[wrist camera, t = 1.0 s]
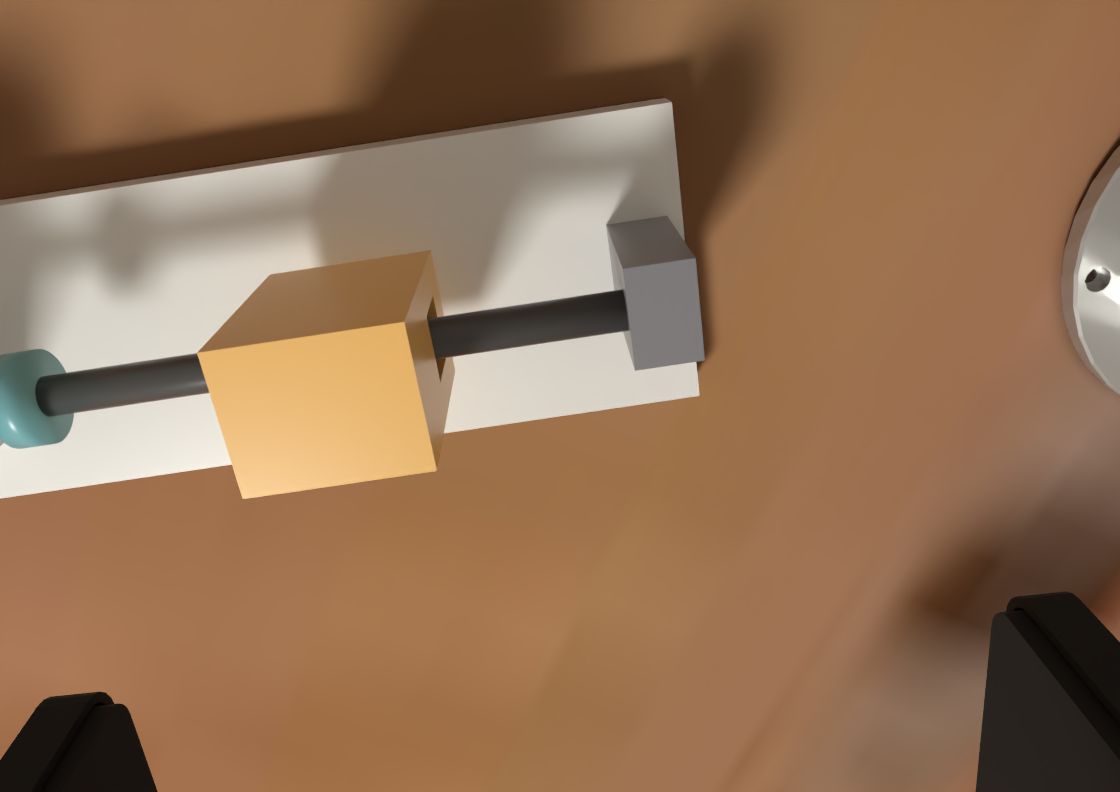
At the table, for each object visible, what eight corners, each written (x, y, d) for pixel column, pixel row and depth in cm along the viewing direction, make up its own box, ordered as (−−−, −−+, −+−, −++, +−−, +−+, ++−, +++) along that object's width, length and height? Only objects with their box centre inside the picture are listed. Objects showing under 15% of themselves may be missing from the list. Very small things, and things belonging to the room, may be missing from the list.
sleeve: (430, 250, 29) (404, 321, 22) (455, 371, 30) (437, 470, 24) (270, 274, 29) (196, 353, 22) (302, 393, 30) (242, 499, 24)
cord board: (665, 97, 31) (718, 133, 22) (692, 379, 34) (746, 499, 26) (-143, 222, 31) (-384, 301, 23) (-28, 486, 35) (-198, 635, 27)
